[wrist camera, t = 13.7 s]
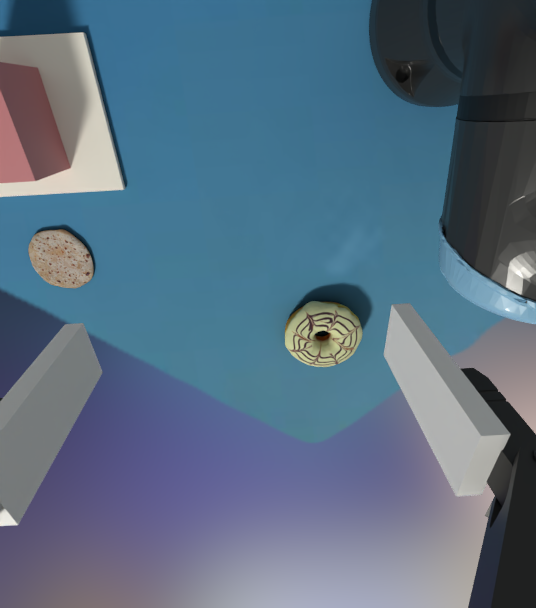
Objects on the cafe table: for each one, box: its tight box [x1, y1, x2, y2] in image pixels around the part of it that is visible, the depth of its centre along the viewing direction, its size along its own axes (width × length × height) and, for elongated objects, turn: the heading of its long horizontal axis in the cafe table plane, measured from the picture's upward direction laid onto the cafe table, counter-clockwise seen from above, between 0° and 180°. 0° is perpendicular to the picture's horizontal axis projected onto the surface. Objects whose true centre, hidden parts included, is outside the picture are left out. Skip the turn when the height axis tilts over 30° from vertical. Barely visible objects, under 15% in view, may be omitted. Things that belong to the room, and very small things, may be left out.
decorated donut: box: [285, 301, 362, 367], centre depth 48 cm, size 10×11×4 cm
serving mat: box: [0, 32, 125, 197], centre depth 35 cm, size 14×14×1 cm
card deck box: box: [0, 62, 71, 183], centre depth 32 cm, size 9×4×7 cm, turn 3°
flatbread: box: [29, 229, 94, 288], centre depth 43 cm, size 8×8×1 cm
